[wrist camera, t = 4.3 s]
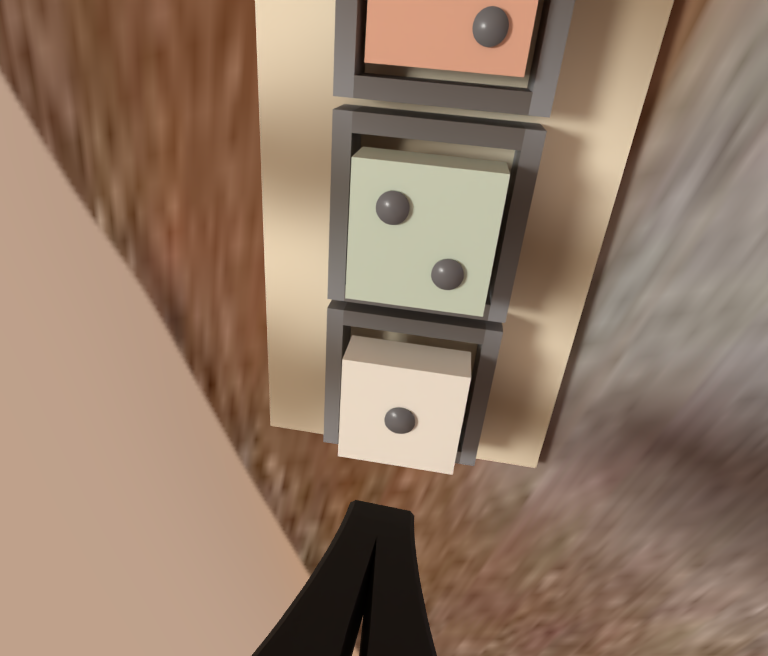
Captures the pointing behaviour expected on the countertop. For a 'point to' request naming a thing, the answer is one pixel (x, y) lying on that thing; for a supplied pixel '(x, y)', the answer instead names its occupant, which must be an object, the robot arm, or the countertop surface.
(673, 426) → the countertop surface
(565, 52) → the key board
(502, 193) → the key two
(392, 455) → the key one
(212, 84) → the countertop surface
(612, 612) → the countertop surface
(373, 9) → the key three
